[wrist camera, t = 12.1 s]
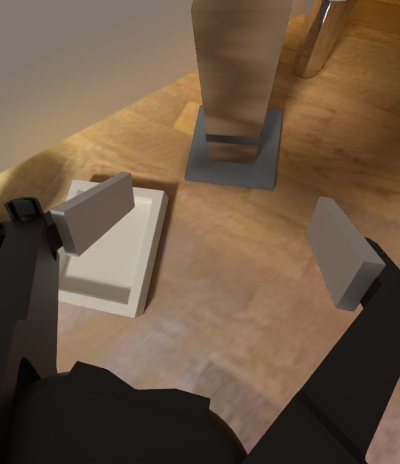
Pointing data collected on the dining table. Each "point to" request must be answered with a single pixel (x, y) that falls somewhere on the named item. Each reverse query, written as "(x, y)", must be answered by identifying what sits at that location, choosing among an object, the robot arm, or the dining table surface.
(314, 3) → the milkshake
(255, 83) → the walnut post
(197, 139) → the coaster
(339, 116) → the dining table surface
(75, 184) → the holder
